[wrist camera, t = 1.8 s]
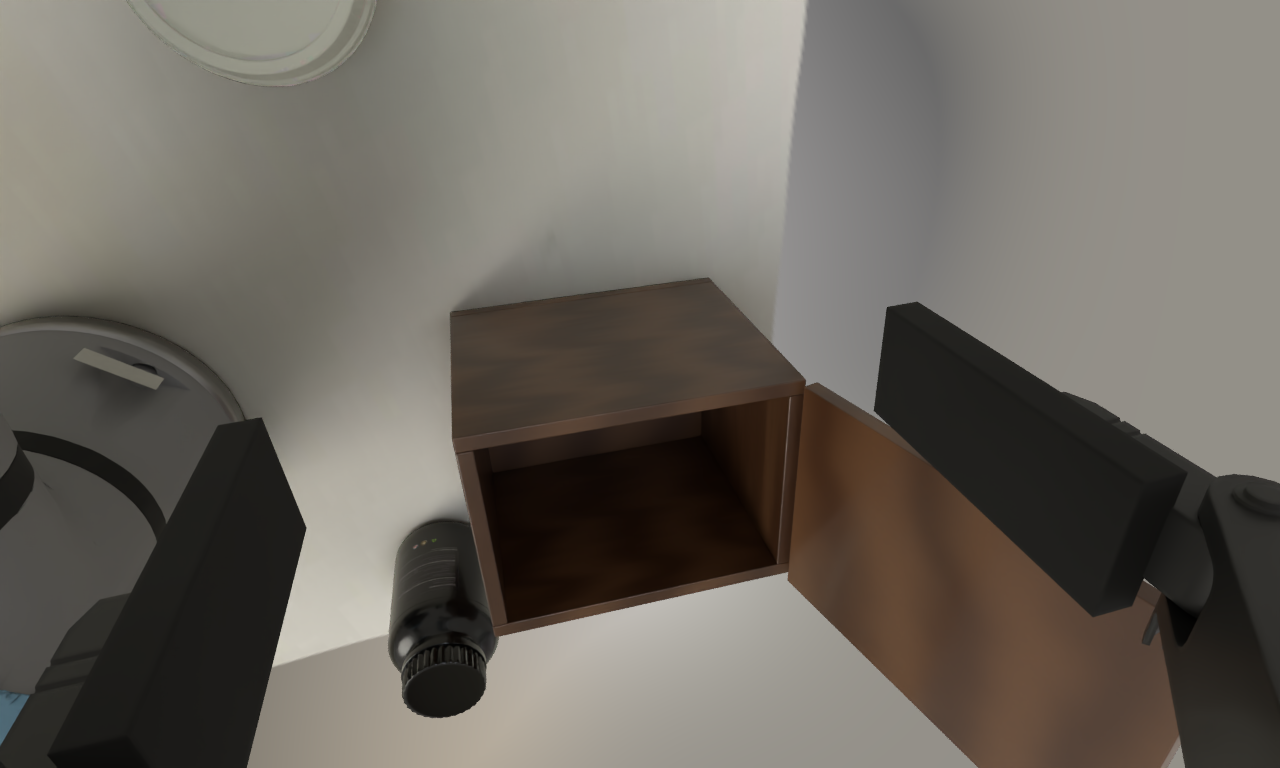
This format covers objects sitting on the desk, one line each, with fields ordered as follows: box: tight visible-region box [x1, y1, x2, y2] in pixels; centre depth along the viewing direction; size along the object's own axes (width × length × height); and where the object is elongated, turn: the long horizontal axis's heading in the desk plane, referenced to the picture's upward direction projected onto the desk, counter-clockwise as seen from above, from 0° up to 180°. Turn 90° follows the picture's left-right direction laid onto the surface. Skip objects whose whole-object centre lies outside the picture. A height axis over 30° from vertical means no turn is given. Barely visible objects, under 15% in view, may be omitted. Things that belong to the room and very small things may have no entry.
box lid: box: [788, 383, 1181, 768], centre depth 30 cm, size 17×13×5 cm
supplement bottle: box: [388, 521, 499, 718], centre depth 45 cm, size 7×7×12 cm
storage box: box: [450, 278, 806, 637], centre depth 40 cm, size 17×13×14 cm
